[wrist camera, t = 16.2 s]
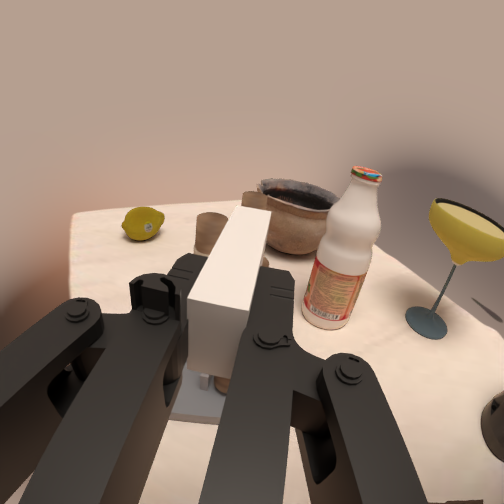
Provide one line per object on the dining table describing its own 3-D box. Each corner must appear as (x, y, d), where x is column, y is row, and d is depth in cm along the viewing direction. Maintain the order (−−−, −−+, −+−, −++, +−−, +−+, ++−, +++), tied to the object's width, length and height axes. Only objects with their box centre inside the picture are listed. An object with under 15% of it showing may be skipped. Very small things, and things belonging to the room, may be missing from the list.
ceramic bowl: (241, 225, 87) (248, 173, 80) (312, 228, 92) (323, 181, 85) (258, 268, 69) (269, 204, 61) (344, 268, 74) (361, 212, 66)
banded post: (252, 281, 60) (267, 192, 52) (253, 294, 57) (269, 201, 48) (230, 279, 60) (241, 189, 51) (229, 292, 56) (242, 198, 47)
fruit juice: (315, 335, 52) (363, 177, 38) (292, 302, 59) (326, 158, 46) (356, 326, 55) (408, 183, 42) (332, 296, 63) (370, 164, 49)
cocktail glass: (375, 303, 62) (415, 193, 50) (426, 294, 68) (464, 201, 56) (424, 361, 48) (488, 240, 36) (472, 340, 53) (524, 241, 41)
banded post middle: (218, 316, 50) (229, 213, 41) (217, 334, 46) (228, 227, 38) (192, 313, 50) (197, 210, 41) (189, 331, 46) (193, 223, 37)
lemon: (123, 247, 68) (121, 216, 64) (121, 232, 74) (119, 203, 70) (167, 243, 73) (168, 212, 69) (161, 229, 79) (162, 200, 75)
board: (264, 285, 63) (268, 264, 61) (281, 426, 35) (290, 407, 33) (185, 277, 62) (186, 256, 59) (156, 417, 34) (152, 397, 31)
